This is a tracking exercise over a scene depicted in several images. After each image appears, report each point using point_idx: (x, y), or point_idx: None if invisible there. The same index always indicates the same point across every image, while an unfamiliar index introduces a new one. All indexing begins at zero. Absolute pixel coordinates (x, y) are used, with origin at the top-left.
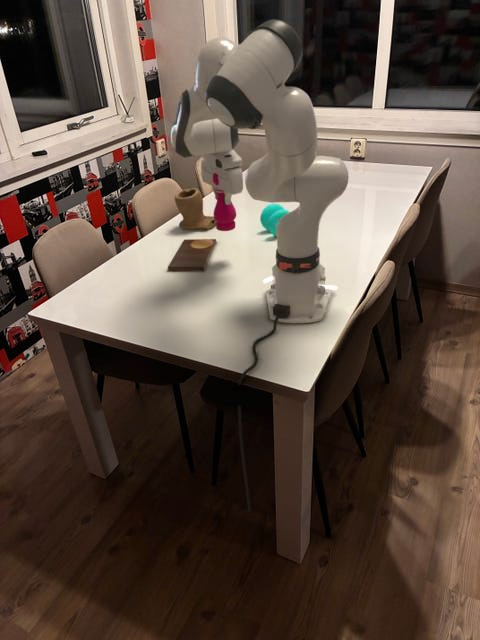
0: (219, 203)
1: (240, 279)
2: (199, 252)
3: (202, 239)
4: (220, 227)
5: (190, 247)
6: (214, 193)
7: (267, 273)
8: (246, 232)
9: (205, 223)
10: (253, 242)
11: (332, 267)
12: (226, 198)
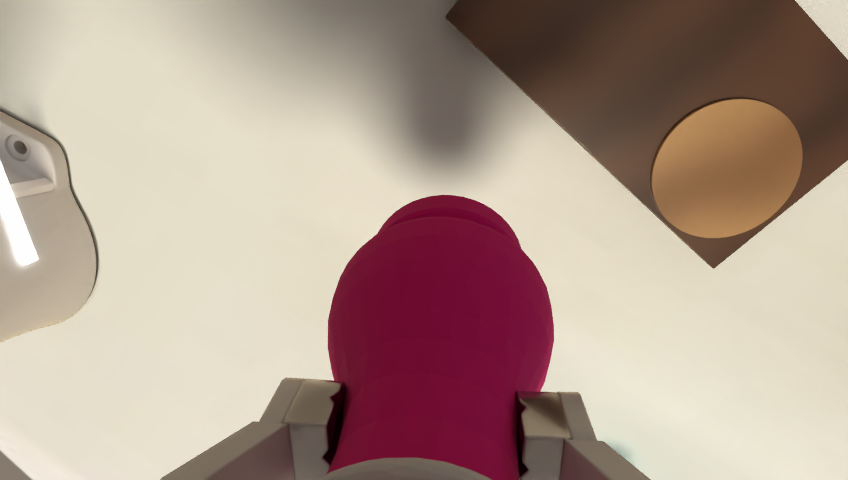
0: (393, 345)
1: (242, 127)
2: (635, 99)
3: (775, 203)
4: (405, 212)
5: (749, 89)
6: (605, 449)
7: (228, 253)
8: (676, 425)
9: None
10: (549, 384)
11: (143, 445)
12: (236, 437)
